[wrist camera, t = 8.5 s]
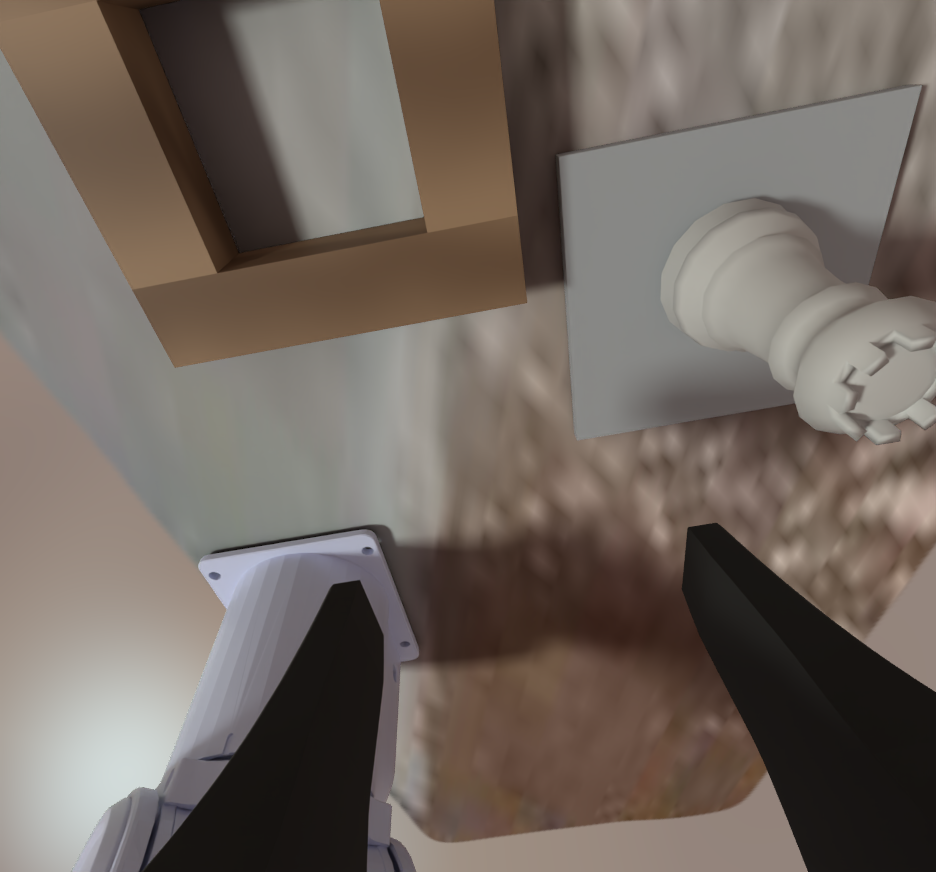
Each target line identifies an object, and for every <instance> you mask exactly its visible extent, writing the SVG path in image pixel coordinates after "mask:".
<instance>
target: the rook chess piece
mask: <svg viewBox="0 0 936 872" xmlns="http://www.w3.org/2000/svg"><path fill="white" fill-rule="evenodd" d="M660 300H661V303H662V305H663V307H664V310H665V312H666V314H667V317H668V319H669V322H671V323H672V324H673V325H675V326H676V327H677V328H678V329H680V330H681V331H682V332H683V333H685V334H686V335H688V336H689V337H690V338H691V339H693V340H694V341H695V342H696V343H698V344H699V345H702V346H705V347H709V348H714V349H719V350H724V351H735V350H736V351H741V352H746V351H748V352H750V353H752V354H753V355H755V356H757V357H759V358H761V359H762V360H764V361H766V362H768V363H769V367H770V370H771V373H772V376H773V379H774V380H776V381H777V382H778V383H779V384H781V385H782V386H783V387H784V388H785V389H787V390H792V391H794V395H793V397H794V400H795V404H796V407H797V410H798V414H799V417H800V418H802V419H803V420H804V421H805V422H807V423H808V424H809V425H810V426H812V427H813V428H814V429H815V430H819V431H825V432H830V433H836V434H848V435H849V436H850V437H852V438H853V439H854V440H855V441H856V442H857V441H858V440H859V439H860V438H861V437H862V436H863V435H865V436H866V437H867V438H868V439H870V440H871V441H872V442H873V443H874V444H875V445H880V444H886V443H893V442H899V441H900V438H901V430H900V429H898V428H897V427H896V426H894V425H896V424H898V423H900V422H902V421H905V420H907V419H910V420H911V421H913V422H914V423H915V424H917V425H918V426H920V427H921V428H922V429H924V430H926V429H928V428H929V427H930V426H932V425H933V424H935V423H936V406H935V405H934V404H932V403H931V401H932V400H933V399H934V398H935V396H936V302H935V301H931V300H926V299H922V298H918V297H914V296H907V297H901V298H896V299H890V300H888V299H887V298H886V297H885V296H884V295H883V293H882V292H881V291H880V290H879V289H878V288H877V287H873V286H869V285H865V284H861V283H857V282H854V283H848V284H846V283H844V282H842V281H840V280H839V279H838V278H837V277H835V276H834V275H833V274H832V273H831V272H829V271H828V270H827V269H826V268H825V266H824V262H823V257H822V253H821V252H820V247H819V243H818V239H817V237H816V235H815V234H814V233H813V231H812V230H811V229H810V228H809V227H808V226H807V225H806V224H805V223H804V222H803V221H802V220H801V219H800V218H799V217H798V216H797V215H796V214H794V213H791V212H787V211H786V210H785V209H784V208H783V207H782V206H781V205H779V204H775V203H771V202H768V201H764V200H760V199H756V198H752V199H747V200H741V201H736V202H731V203H725V204H723V205H721V206H720V207H718V208H716V209H714V210H713V211H711V212H709V213H708V214H706V215H704V216H703V217H701V218H699V219H698V220H696V221H695V222H694V223H693V224H692V225H691V226H690V228H689V229H688V230H687V231H686V232H685V233H684V234H683V236H682V237H681V238H680V239H679V240H678V241H677V242H676V243H675V245H674V246H673V248H672V250H671V253H670V255H669V257H668V260H667V262H666V264H665V267H664V269H663V271H662V274H661V297H660Z"/></svg>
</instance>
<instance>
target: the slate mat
mask: <svg viewBox="0 0 936 872" xmlns="http://www.w3.org/2000/svg"><path fill="white" fill-rule="evenodd" d="M921 87H922V85H905V86H900V87H895V88H890V89H884V90H879V91H874V92H869V93H864V94H859V95H854V96H849V97H844V98H839V99H834V100H829V101H824V102H819V103H814V104H809V105H804V106H798V107H793V108H788V109H783V110H778V111H773V112H768V113H763V114H758V115H753V116H748V117H743V118H738V119H733V120H728V121H723V122H718V123H712V124H707V125H702V126H697V127H692V128H687V129H682V130H677V131H672V132H667V133H662V134H657V135H652V136H647V137H642V138H637V139H632V140H626V141H621V142H616V143H611V144H606V145H601V146H596V147H591V148H586V149H581V150H576V151H571V152H566V153H561V154H556V168H557V183H558V198H559V212H560V227H561V242H562V257H563V272H564V287H565V302H566V317H567V332H568V347H569V361H570V376H571V391H572V406H573V421H574V434H575V436H576V439H577V440H583V439H589V438H594V437H600V436H606V435H612V434H618V433H624V432H630V431H636V430H642V429H647V428H653V427H659V426H665V425H671V424H677V423H683V422H689V421H695V420H700V419H706V418H712V417H718V416H724V415H730V414H736V413H742V412H747V411H753V410H759V409H765V408H771V407H777V406H783V405H789V404H795V400H794V397H793V395H794V391H792V390H787V389H785V388H784V387H783V386H782V385H781V384H779V383H778V382H777V381H776V380H774V379H773V376H772V373H771V370H770V367H769V363H768V362H766V361H764V360H762V359H761V358H759V357H757V356H755V355H753V354H752V353H750V352H748V351H746V352H741V351H736V350H735V351H724V350H719V349H714V348H709V347H705V346H702V345H699V344H698V343H696V342H695V341H694V340H693V339H691V338H690V337H689V336H688V335H686V334H685V333H683V332H682V331H681V330H680V329H678V328H677V327H676V326H675V325H673V324H672V323H671V322H669V319H668V317H667V314H666V312H665V310H664V307H663V305H662V303H661V300H660V297H661V274H662V271H663V269H664V267H665V264H666V262H667V260H668V257H669V255H670V253H671V250H672V248H673V246H674V245H675V243H676V242H677V241H678V240H679V239H680V238H681V237H682V236H683V234H684V233H685V232H686V231H687V230H688V229H689V228H690V226H691V225H692V224H693V223H694V222H695V221H696V220H698V219H699V218H701V217H703V216H704V215H706V214H708V213H709V212H711V211H713V210H714V209H716V208H718V207H720V206H721V205H723V204H725V203H731V202H736V201H741V200H747V199H752V198H756V199H760V200H764V201H768V202H771V203H775V204H779V205H781V206H782V207H783V208H784V209H785V210H786V211H787V212H791V213H794V214H796V215H797V216H798V217H799V218H800V219H801V220H802V221H803V222H804V223H805V224H806V225H807V226H808V227H809V228H810V229H811V230H812V231H813V233H814V234H815V235H816V237H817V239H818V243H819V247H820V252H821V253H822V257H823V262H824V266H825V268H826V269H827V270H828V271H829V272H831V273H832V274H833V275H834V276H835V277H837V278H838V279H839V280H840V281H842V282H844V283H846V284H848V283H854V282H857V283H861V284H865V285H869V281H870V278H871V274H872V270H873V266H874V263H875V259H876V255H877V251H878V248H879V244H880V240H881V237H882V233H883V229H884V225H885V222H886V218H887V214H888V210H889V207H890V203H891V199H892V196H893V192H894V188H895V184H896V181H897V177H898V173H899V169H900V166H901V162H902V158H903V155H904V151H905V147H906V143H907V140H908V136H909V132H910V128H911V125H912V121H913V117H914V114H915V110H916V106H917V102H918V99H919V95H920V91H921Z"/></svg>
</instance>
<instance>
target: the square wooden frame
mask: <svg viewBox="0 0 936 872" xmlns="http://www.w3.org/2000/svg"><path fill="white" fill-rule="evenodd" d="M175 1H180V0H0V49H1V51H2V52H3V54H4V56H5V58H6V60H7V62H8V63H9V65H10V67H11V69H12V71H13V73H14V74H15V76H16V78H17V80H18V82H19V83H20V85H21V87H22V89H23V91H24V93H25V94H26V96H27V98H28V100H29V102H30V104H31V105H32V107H33V109H34V111H35V113H36V115H37V116H38V118H39V120H40V122H41V124H42V126H43V127H44V129H45V131H46V133H47V135H48V137H49V138H50V140H51V142H52V144H53V146H54V148H55V149H56V151H57V153H58V155H59V157H60V159H61V160H62V162H63V164H64V166H65V168H66V170H67V171H68V173H69V175H70V177H71V179H72V180H73V182H74V184H75V186H76V188H77V190H78V191H79V193H80V195H81V197H82V199H83V201H84V202H85V204H86V206H87V208H88V210H89V212H90V213H91V215H92V217H93V219H94V221H95V223H96V224H97V226H98V228H99V230H100V232H101V234H102V235H103V237H104V239H105V241H106V243H107V245H108V246H109V248H110V250H111V252H112V254H113V256H114V257H115V259H116V261H117V263H118V265H119V267H120V268H121V270H122V272H123V274H124V276H125V277H126V279H127V281H128V283H129V285H130V287H131V288H132V290H133V292H134V294H135V296H136V298H137V299H138V301H139V303H140V305H141V307H142V309H143V310H144V312H145V314H146V316H147V318H148V320H149V321H150V323H151V325H152V327H153V329H154V331H155V332H156V334H157V336H158V338H159V340H160V342H161V343H162V345H163V347H164V349H165V351H166V353H167V354H168V356H169V358H170V360H171V362H172V364H173V365H174V367H175V368H176V367H181V366H187V365H192V364H198V363H203V362H208V361H214V360H219V359H225V358H230V357H236V356H241V355H246V354H252V353H257V352H263V351H268V350H274V349H279V348H285V347H290V346H295V345H301V344H306V343H312V342H317V341H323V340H328V339H333V338H339V337H344V336H350V335H355V334H361V333H366V332H372V331H377V330H382V329H388V328H393V327H399V326H404V325H410V324H415V323H420V322H426V321H431V320H437V319H442V318H448V317H453V316H459V315H464V314H469V313H475V312H480V311H486V310H491V309H497V308H502V307H507V306H513V305H518V304H524V303H527V296H526V287H525V278H524V269H523V260H522V251H521V242H520V232H519V223H518V214H517V205H516V196H515V187H514V178H513V169H512V160H511V151H510V142H509V133H508V124H507V115H506V105H505V96H504V87H503V78H502V69H501V60H500V51H499V42H498V33H497V24H496V15H495V6H494V0H380V5H381V10H382V15H383V20H384V25H385V30H386V34H387V39H388V44H389V49H390V54H391V59H392V63H393V68H394V73H395V78H396V83H397V88H398V93H399V97H400V102H401V107H402V112H403V117H404V122H405V126H406V131H407V136H408V141H409V146H410V151H411V156H412V160H413V165H414V170H415V175H416V180H417V185H418V190H419V194H420V199H421V204H422V209H423V214H424V217H423V218H418V219H413V220H407V221H402V222H397V223H392V224H387V225H382V226H377V227H371V228H366V229H361V230H356V231H351V232H346V233H340V234H335V235H330V236H325V237H320V238H315V239H310V240H304V241H299V242H294V243H289V244H284V245H279V246H273V247H268V248H263V249H258V250H253V251H248V252H243V253H238V250H237V248H236V245H235V243H234V240H233V238H232V236H231V233H230V231H229V228H228V226H227V223H226V221H225V219H224V216H223V214H222V211H221V209H220V206H219V204H218V202H217V199H216V197H215V194H214V192H213V189H212V187H211V185H210V182H209V180H208V177H207V175H206V172H205V170H204V168H203V165H202V163H201V160H200V158H199V155H198V153H197V151H196V148H195V146H194V143H193V141H192V138H191V136H190V134H189V131H188V129H187V126H186V124H185V121H184V119H183V117H182V114H181V112H180V109H179V107H178V104H177V102H176V100H175V97H174V95H173V92H172V90H171V87H170V85H169V83H168V80H167V78H166V75H165V73H164V70H163V68H162V66H161V63H160V61H159V58H158V56H157V53H156V51H155V49H154V46H153V44H152V41H151V39H150V36H149V34H148V32H147V29H146V27H145V24H144V22H143V19H142V17H141V15H140V12H139V9H143V8H148V7H152V6H157V5H161V4H166V3H170V2H175Z"/></svg>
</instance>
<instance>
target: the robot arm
mask: <svg viewBox="0 0 936 872" xmlns="http://www.w3.org/2000/svg"><path fill="white" fill-rule="evenodd" d="M364 547H370V548H371V549H367V548H364ZM198 567H199V570H200V571H201V573H202V574H203V576H204V577H205V578H206V580H207V581H208V583H209V584H210V586H211V587H212V589H213V590H214V592H215V593H216V595H217V596H218V597H219V599H220V600H221V602H222V603H223V605H224V606H225V608H226V609H227V611H226V613H225V616H224V619H223V621H222V624H221V627H220V629H219V632H218V634H217V637H216V640H215V642H214V645H213V648H212V650H211V653H210V655H209V658H208V660H207V663H206V666H205V669H204V671H203V674H202V676H201V679H200V681H199V684H198V687H197V689H196V692H195V694H194V697H193V700H192V702H191V705H190V708H189V710H188V713H187V715H186V718H185V721H184V723H183V726H182V729H181V731H180V734H179V736H178V739H177V742H176V745H175V747H174V749H173V752H172V755H171V757H170V760H169V762H168V765H167V768H166V770H165V773H164V776H163V778H162V781H161V783H160V784H159V786H158V787H157V788H156V789H155V790H154V789H149V788H144V787H142V788H137V789H135V790H133V791H132V792H131V793H130V794H129V795H128V797H127V798H124V799H122V800H121V801H119V802H117V803H116V804H114V805H113V806H111V807H109V808H108V809H107V810H106V812H105V813H104V814H103V816H102V817H101V819H100V820H99V822H98V824H97V825H96V827H95V828H94V830H93V832H92V834H91V835H90V837H89V839H88V841H87V842H86V844H85V846H84V848H83V850H82V852H81V854H80V855H79V857H78V859H77V861H76V863H75V865H74V867H73V869H72V871H71V872H416V870H415V867H414V864H413V862H412V859H411V856H410V855H409V853H408V851H407V850H406V848H405V847H404V846H403V845H402V844H401V842H399V841H398V840H396V839H393V838H391V837H390V831H391V812H392V806H391V805H390V804H388V803H386V801H387V798H388V796H389V793H390V791H391V787H392V784H393V779H394V773H395V758H396V739H397V721H398V702H399V684H400V665H401V662H403V661H410V660H414V659H416V658H417V657H418V656H419V647H418V644H417V642H416V639H415V636H414V634H413V631H412V628H411V626H410V623H409V621H408V618H407V615H406V613H405V610H404V607H403V605H402V602H401V599H400V597H399V594H398V592H397V589H396V586H395V584H394V581H393V578H392V576H391V573H390V570H389V568H388V565H387V563H386V560H385V557H384V555H383V552H382V549H381V547H380V544H379V541H378V539H377V536H376V535H375V533H374V532H372V531H371V530H367V529H362V530H356V531H350V532H344V533H337V534H331V535H325V536H319V537H313V538H307V539H301V540H295V541H289V542H283V543H277V544H271V545H265V546H259V547H252V548H246V549H240V550H234V551H228V552H222V553H216V554H210V555H206V556H203V557H202V558H201V560H200V562H199V565H198ZM216 572H217V573H216ZM682 591H683V594H684V596H685V599H686V602H687V604H688V607H689V610H690V613H691V615H692V618H693V620H694V623H695V625H696V628H697V630H698V633H699V635H700V637H701V639H702V641H703V643H704V645H705V647H706V649H707V651H708V653H709V655H710V657H711V659H712V661H713V663H714V665H715V667H716V669H717V671H718V673H719V674H720V676H721V678H722V680H723V682H724V684H725V686H726V688H727V690H728V692H729V694H730V696H731V698H732V699H733V701H734V703H735V705H736V707H737V709H738V711H739V713H740V715H741V717H742V719H743V721H744V723H745V724H746V726H747V728H748V730H749V732H750V734H751V736H752V738H753V740H754V742H755V744H756V746H757V748H758V751H759V753H760V755H761V757H762V759H763V761H764V764H765V766H766V768H767V771H768V773H769V775H770V778H771V780H772V783H773V785H774V788H775V790H776V792H777V795H778V797H779V800H780V802H781V805H782V807H783V809H784V812H785V814H786V817H787V819H788V822H789V824H790V827H791V829H792V832H793V835H794V837H795V839H796V842H797V845H798V847H799V850H800V852H801V855H802V857H803V860H804V862H805V865H806V868H807V870H808V872H936V692H935V691H933V690H931V689H930V688H928V687H927V686H925V685H924V684H922V683H920V682H919V681H917V680H916V679H914V678H913V677H911V676H910V675H908V674H907V673H905V672H904V671H902V670H901V669H899V668H898V667H896V666H895V665H893V664H892V663H890V662H889V661H888V660H886V659H885V658H883V657H882V656H880V655H879V654H878V653H876V652H874V651H873V650H872V649H870V648H869V647H868V646H866V645H865V644H864V643H862V642H861V641H859V640H858V639H857V638H855V637H854V636H853V635H851V634H850V633H849V632H847V631H846V630H845V629H843V628H842V627H841V626H839V625H838V624H837V623H835V622H834V621H833V620H831V619H830V618H829V617H828V616H826V615H825V614H824V613H822V612H821V611H820V610H819V609H817V608H816V607H815V606H814V605H812V604H811V603H810V602H809V601H807V600H806V599H805V598H804V597H802V596H801V595H800V594H799V593H798V592H796V591H795V590H794V589H793V588H791V587H790V586H789V585H788V584H787V583H785V582H784V581H783V580H782V579H781V578H779V577H778V576H777V575H776V574H775V573H774V572H772V571H771V570H770V569H769V568H768V567H767V566H765V565H764V564H763V563H762V562H761V561H760V560H759V559H757V558H756V557H755V556H754V555H753V554H752V553H751V552H749V551H748V550H747V549H746V548H745V547H744V546H743V545H742V544H741V543H739V542H738V541H737V540H736V539H735V538H734V537H733V536H732V535H731V534H729V533H728V532H727V531H726V530H725V529H724V528H723V527H722V526H720V525H719V524H718V523H712V524H706V525H699V526H693V527H688V530H687V541H686V551H685V562H684V573H683V583H682Z"/></svg>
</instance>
